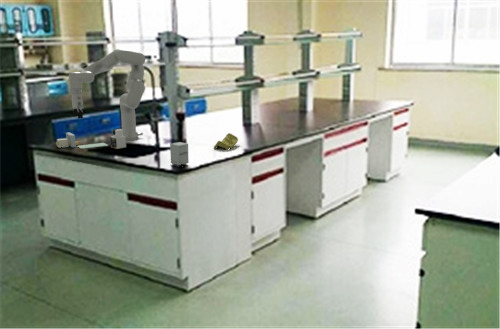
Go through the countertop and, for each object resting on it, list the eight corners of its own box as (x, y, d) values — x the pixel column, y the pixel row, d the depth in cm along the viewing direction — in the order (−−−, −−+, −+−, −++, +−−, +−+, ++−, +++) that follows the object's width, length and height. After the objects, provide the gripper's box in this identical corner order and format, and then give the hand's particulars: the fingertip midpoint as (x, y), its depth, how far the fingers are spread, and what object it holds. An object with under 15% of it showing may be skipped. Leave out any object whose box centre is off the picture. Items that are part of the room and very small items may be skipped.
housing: (70, 143, 362) (69, 132, 360) (75, 147, 352) (74, 135, 350) (66, 144, 360) (65, 132, 358) (72, 147, 351) (71, 135, 349)
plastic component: (230, 147, 342) (216, 139, 343) (226, 156, 345) (212, 149, 346) (240, 138, 360) (227, 131, 361) (236, 148, 363) (223, 141, 364)
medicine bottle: (110, 147, 351) (109, 129, 348) (120, 145, 356) (119, 127, 353) (116, 149, 346) (115, 130, 343) (126, 147, 351) (125, 129, 348)
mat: (103, 143, 363) (103, 142, 363) (108, 145, 356) (108, 145, 356) (76, 146, 354) (76, 145, 354) (80, 148, 346) (80, 148, 346)
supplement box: (179, 167, 300) (178, 145, 297) (170, 165, 305) (169, 143, 302) (189, 165, 305) (188, 143, 302) (180, 163, 310) (179, 141, 307)
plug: (77, 144, 360) (76, 137, 359) (79, 145, 357) (78, 138, 356) (56, 146, 353) (55, 139, 352) (57, 148, 349) (57, 140, 348)
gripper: (86, 92, 346) (87, 118, 350) (78, 89, 360) (80, 115, 364) (74, 92, 342) (76, 119, 346) (66, 90, 356) (68, 116, 360)
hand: (78, 117), depth 355 cm, fingers open, 9 cm apart
